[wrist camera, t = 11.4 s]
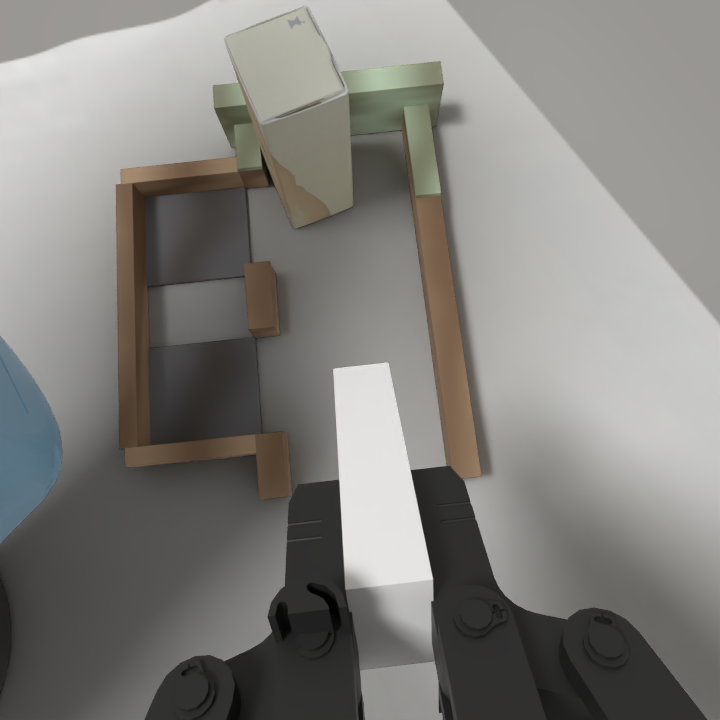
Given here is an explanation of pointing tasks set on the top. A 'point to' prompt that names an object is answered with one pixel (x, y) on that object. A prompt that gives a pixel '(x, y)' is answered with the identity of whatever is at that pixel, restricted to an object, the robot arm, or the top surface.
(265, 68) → the box
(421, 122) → the brown green flat frame
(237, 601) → the top surface
